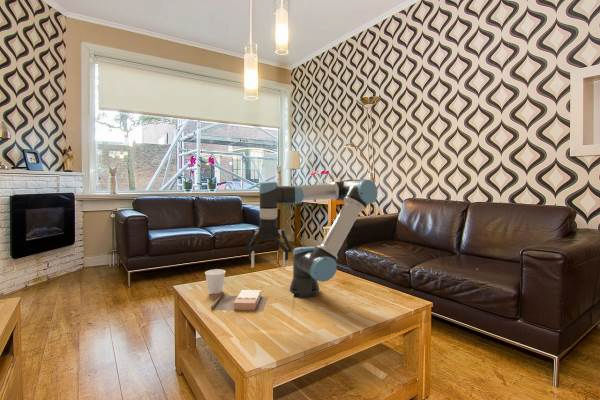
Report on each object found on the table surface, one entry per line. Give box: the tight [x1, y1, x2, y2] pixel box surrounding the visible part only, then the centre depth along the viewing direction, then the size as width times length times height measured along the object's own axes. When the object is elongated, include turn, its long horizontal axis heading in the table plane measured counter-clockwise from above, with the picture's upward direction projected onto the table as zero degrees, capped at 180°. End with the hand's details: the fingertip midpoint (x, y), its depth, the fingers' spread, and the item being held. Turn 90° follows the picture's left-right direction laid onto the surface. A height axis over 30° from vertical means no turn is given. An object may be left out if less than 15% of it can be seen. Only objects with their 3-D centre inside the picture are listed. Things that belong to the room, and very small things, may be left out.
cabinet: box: [233, 298, 257, 311], centre depth 137 cm, size 9×5×3 cm, turn 88°
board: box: [210, 291, 269, 312], centre depth 143 cm, size 22×17×3 cm
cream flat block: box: [237, 289, 262, 304], centre depth 146 cm, size 9×11×3 cm
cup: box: [204, 268, 226, 296], centre depth 157 cm, size 10×10×11 cm
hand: (268, 267), depth 137 cm, fingers open, 13 cm apart
